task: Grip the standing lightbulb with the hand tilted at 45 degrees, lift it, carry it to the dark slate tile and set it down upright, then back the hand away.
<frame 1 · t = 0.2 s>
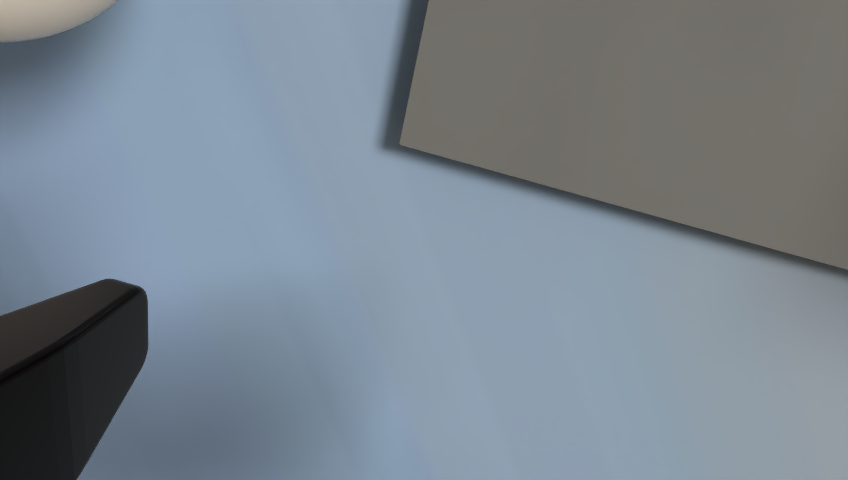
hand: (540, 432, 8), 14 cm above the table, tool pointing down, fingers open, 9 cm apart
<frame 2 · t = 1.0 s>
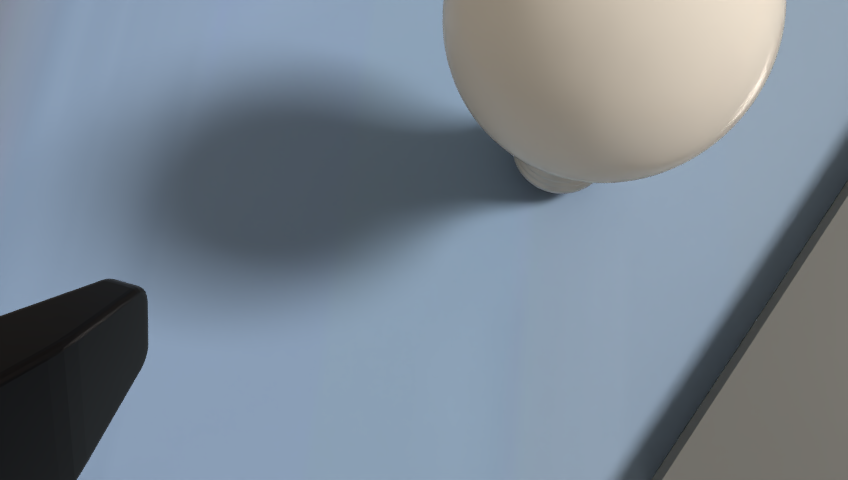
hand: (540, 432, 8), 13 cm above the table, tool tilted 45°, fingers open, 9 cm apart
lightbulb: (556, 158, 23), on the table
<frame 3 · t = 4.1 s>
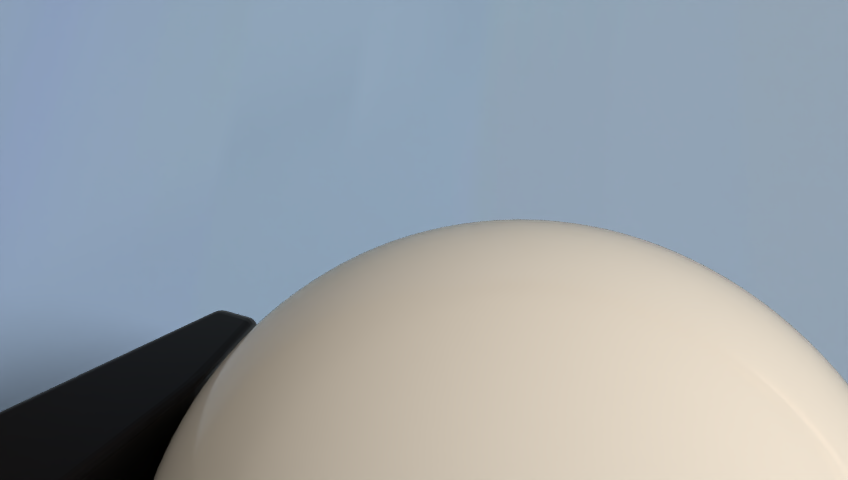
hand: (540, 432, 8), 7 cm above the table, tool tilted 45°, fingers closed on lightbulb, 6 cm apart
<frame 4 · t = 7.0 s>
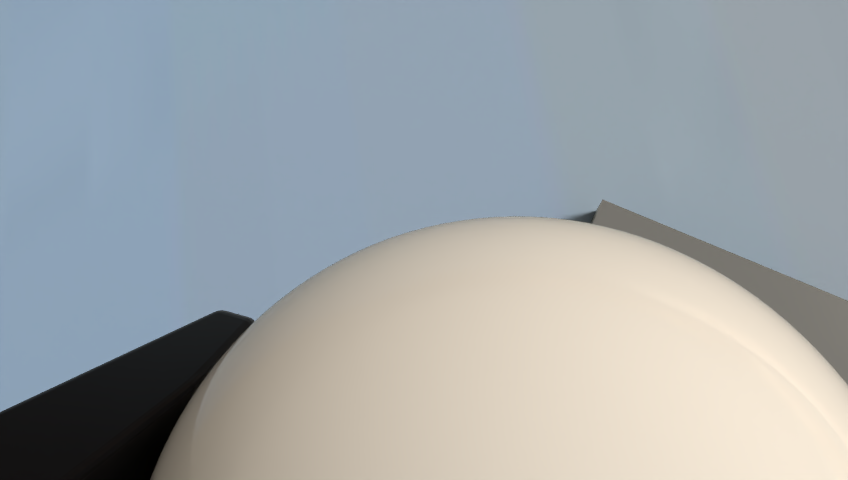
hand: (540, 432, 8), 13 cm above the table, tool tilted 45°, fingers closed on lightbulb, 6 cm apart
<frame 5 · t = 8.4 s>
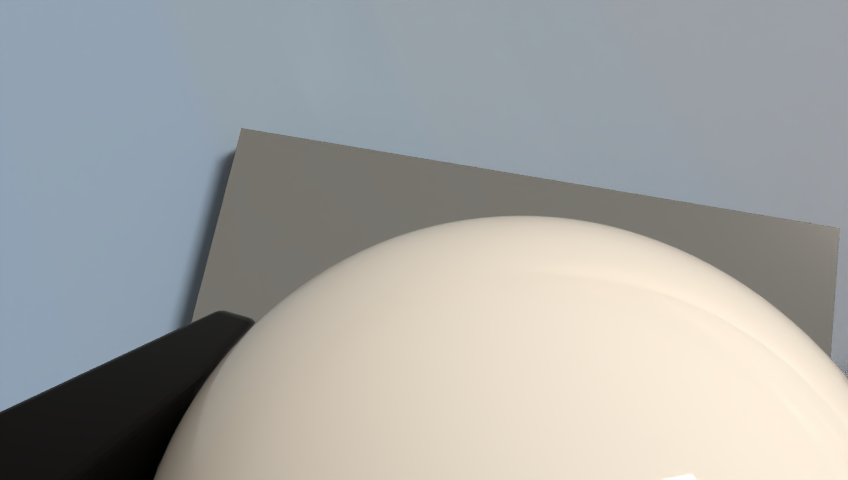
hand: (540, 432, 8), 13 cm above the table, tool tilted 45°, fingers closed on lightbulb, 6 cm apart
when the fingers open (8 cm above the table, at t = 9.8 s): lightbulb stays where it is, resting on slate tile.
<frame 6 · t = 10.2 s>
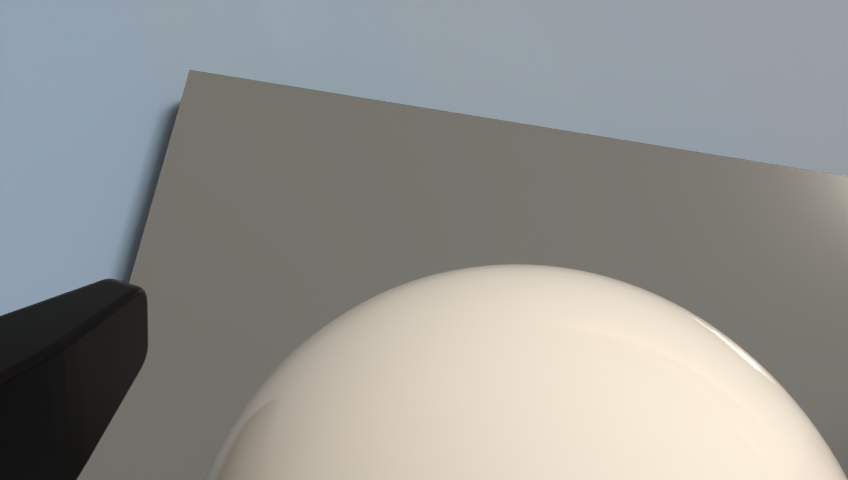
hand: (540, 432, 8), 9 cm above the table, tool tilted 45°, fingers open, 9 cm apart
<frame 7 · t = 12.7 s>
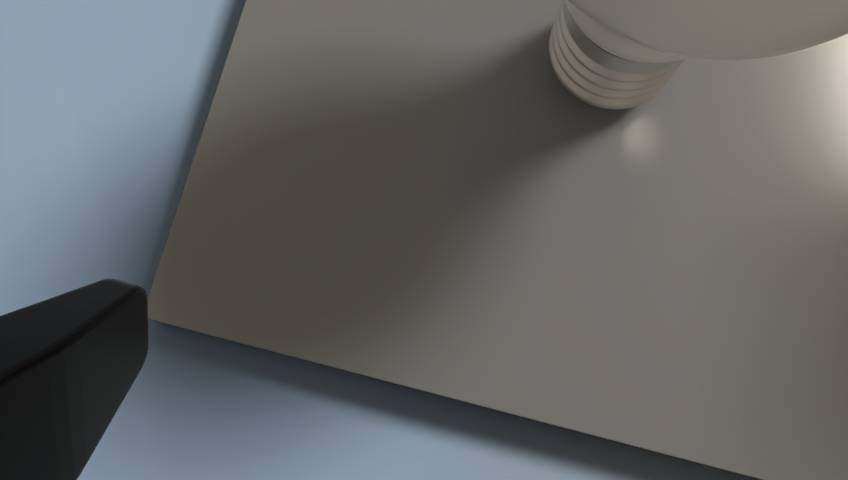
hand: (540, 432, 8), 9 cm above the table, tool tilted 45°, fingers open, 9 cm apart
lightbulb: (602, 66, 18), point 1 cm above the table, touching slate tile
slate tile: (595, 73, 19), on the table
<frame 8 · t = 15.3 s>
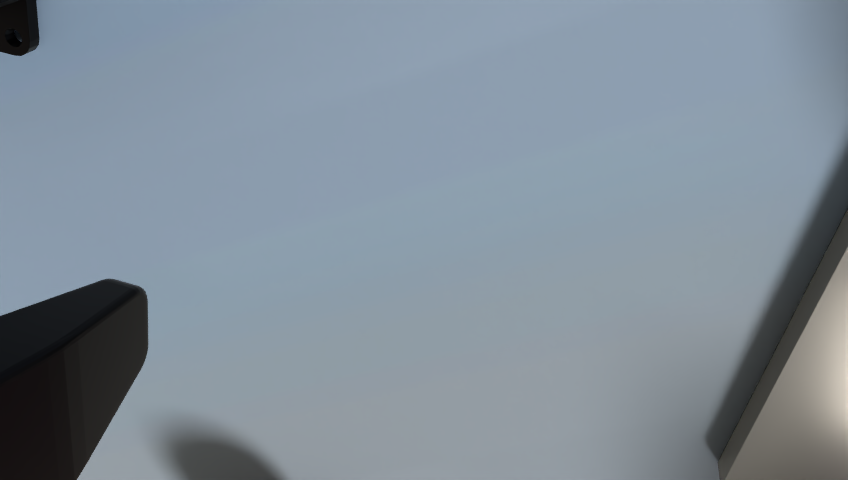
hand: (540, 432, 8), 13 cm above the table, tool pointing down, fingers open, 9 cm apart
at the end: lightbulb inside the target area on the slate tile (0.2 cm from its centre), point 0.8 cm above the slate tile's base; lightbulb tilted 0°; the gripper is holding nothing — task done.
